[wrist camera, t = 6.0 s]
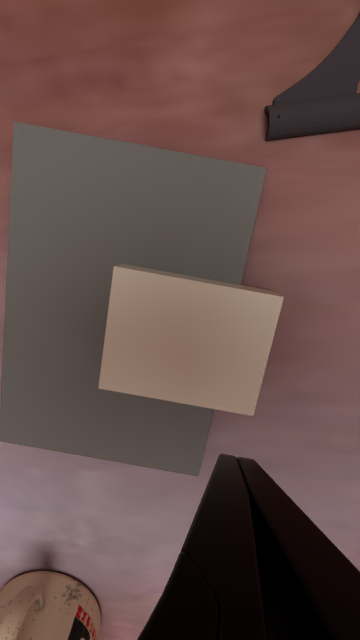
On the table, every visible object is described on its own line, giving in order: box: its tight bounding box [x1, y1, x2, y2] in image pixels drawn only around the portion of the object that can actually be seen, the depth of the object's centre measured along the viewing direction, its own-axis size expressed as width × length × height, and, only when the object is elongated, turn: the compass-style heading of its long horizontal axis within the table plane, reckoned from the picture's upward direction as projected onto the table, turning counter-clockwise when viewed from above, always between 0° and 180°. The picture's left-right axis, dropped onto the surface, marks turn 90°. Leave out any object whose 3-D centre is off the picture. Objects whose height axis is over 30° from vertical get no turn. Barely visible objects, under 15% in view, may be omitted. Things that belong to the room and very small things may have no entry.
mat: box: [0, 122, 267, 476], centre depth 20 cm, size 14×20×1 cm
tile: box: [98, 264, 284, 416], centre depth 19 cm, size 2×7×9 cm
